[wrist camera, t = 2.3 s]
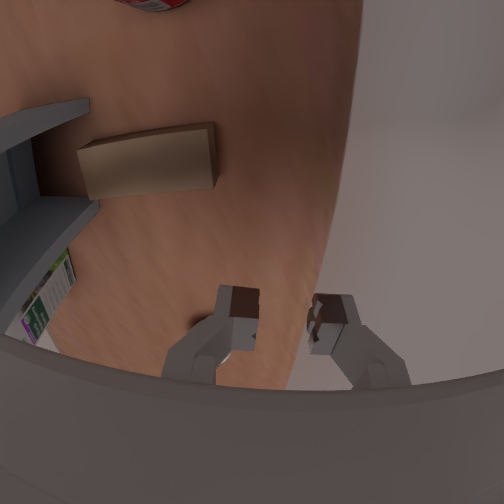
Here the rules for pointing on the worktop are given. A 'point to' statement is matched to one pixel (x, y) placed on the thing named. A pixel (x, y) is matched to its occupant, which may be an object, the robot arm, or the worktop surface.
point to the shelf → (33, 207)
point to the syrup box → (43, 302)
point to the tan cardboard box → (151, 162)
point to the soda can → (152, 4)
